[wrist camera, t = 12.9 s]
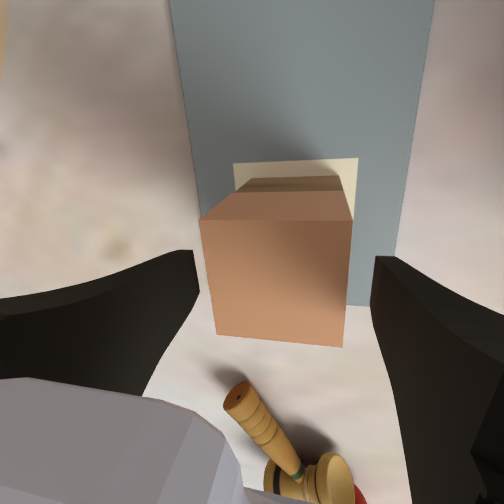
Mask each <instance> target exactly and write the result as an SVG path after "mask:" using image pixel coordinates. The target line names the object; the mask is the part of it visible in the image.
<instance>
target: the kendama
mask: <svg viewBox="0 0 504 504" xmlns="http://www.w3.org/2000/svg"><path fill="white" fill-rule="evenodd" d="M223 408H224V410H225V411H226V412H227V413H228V414H229V415H230V416H231V417H232V418H233V419H234V420H235V421H237V423H238V424H239V425H240V426H241V427H242V428H243V429H244V430H245V431H246V433H247V434H248V435H250V437H251V438H252V439H253V440H254V441H255V442H256V443H257V444H258V446H259V447H260V448H261V449H262V450H263V451H264V452H265V453H266V454H267V455H268V456H269V457H270V458H271V459H270V460H269V461H268V463H267V465H266V468H265V473H264V492H268V493H272V494H277V495H281V496H285V497H290V498H294V499H298V500H303V501H307V502H311V503H316V504H367V502H366V500H365V498H364V496H363V494H362V493H361V491H360V490H359V489H358V487H357V486H356V485H355V484H354V483H353V480H352V476H351V473H350V470H349V468H348V466H347V464H346V462H345V460H344V459H343V458H342V457H341V456H340V455H339V454H337V453H325V454H323V455H322V456H321V457H320V459H319V461H318V463H317V464H316V465H315V466H314V465H308V466H307V467H304V466H303V464H302V462H301V460H300V459H299V457H298V455H297V453H296V452H295V450H294V448H293V446H292V445H291V443H290V441H289V440H288V438H287V437H286V435H285V434H284V432H283V431H282V429H281V428H280V426H279V425H278V424H277V422H276V421H275V419H274V418H273V416H272V415H271V414H270V412H269V411H268V409H267V408H266V406H265V405H264V403H263V402H262V400H261V399H260V398H259V396H258V394H257V393H256V391H255V390H254V388H253V387H252V385H251V384H250V383H249V382H248V381H245V382H242V383H240V384H238V385H237V386H235V387H234V388H233V389H232V390H231V391H230V392H229V393H228V395H227V397H226V398H225V401H224V403H223Z"/></svg>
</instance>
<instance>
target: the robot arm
mask: <svg viewBox="0 0 504 504" xmlns="http://www.w3.org/2000/svg"><path fill="white" fill-rule="evenodd" d="M199 292H200V289H199V283H198V277H197V271H196V266H195V260H194V254H193V250H176V251H172V252H169V253H166V254H164V255H161V256H158V257H156V258H153V259H151V260H148V261H146V262H143V263H141V264H138V265H136V266H133V267H130V268H128V269H125V270H122V271H120V272H117V273H114V274H111V275H108V276H105V277H102V278H99V279H96V280H92V281H89V282H85V283H82V284H78V285H73V286H69V287H64V288H60V289H56V290H51V291H46V292H41V293H35V294H29V295H23V296H17V297H9V298H2V299H0V504H316V503H311V502H307V501H303V500H298V499H294V498H290V497H285V496H281V495H277V494H272V493H268V492H264V491H259V490H255V489H251V488H246V487H243V481H242V475H241V468H240V464H239V462H238V460H237V459H236V457H235V455H234V453H233V451H232V449H231V447H230V446H229V444H228V442H227V440H226V438H225V436H224V434H223V433H222V432H221V431H220V430H218V429H217V428H216V427H214V426H213V425H212V424H211V423H209V422H208V421H207V420H205V419H204V418H203V417H201V416H200V415H199V414H197V413H196V412H195V411H192V410H189V409H186V408H183V407H180V406H178V405H175V404H172V403H169V402H166V401H163V400H160V399H154V398H148V397H142V395H143V393H144V390H145V388H146V386H147V384H148V382H149V380H150V378H151V376H152V374H153V372H154V370H155V368H156V366H157V364H158V362H159V360H160V359H161V357H162V355H163V354H164V352H165V350H166V349H167V347H168V346H169V344H170V343H171V341H172V340H173V338H174V337H175V335H176V334H177V332H178V331H179V329H180V328H181V326H182V324H183V323H184V321H185V320H186V318H187V317H188V315H189V313H190V312H191V310H192V308H193V306H194V304H195V302H196V299H197V297H198V295H199ZM370 309H371V316H372V322H373V327H374V330H375V334H376V337H377V340H378V343H379V347H380V350H381V353H382V356H383V359H384V363H385V366H386V369H387V372H388V375H389V379H390V382H391V386H392V390H393V395H394V400H395V405H396V410H397V415H398V420H399V426H400V431H401V437H402V443H403V448H404V454H405V460H406V466H407V473H408V479H409V485H410V491H411V498H412V504H504V315H502V314H500V313H497V312H495V311H493V310H490V309H488V308H486V307H484V306H482V305H479V304H477V303H475V302H473V301H471V300H469V299H467V298H465V297H463V296H461V295H459V294H457V293H455V292H453V291H452V290H450V289H448V288H446V287H444V286H442V285H441V284H439V283H437V282H436V281H434V280H432V279H431V278H429V277H427V276H426V275H424V274H423V273H421V272H419V271H418V270H416V269H415V268H413V267H412V266H410V265H408V264H407V263H405V262H404V261H402V260H400V259H399V258H397V257H395V256H375V263H374V271H373V279H372V287H371V295H370Z"/></svg>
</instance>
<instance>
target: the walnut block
mask: <svg viewBox="0 0 504 504" xmlns="http://www.w3.org/2000/svg"><path fill="white" fill-rule="evenodd" d="M298 191H344V190H343V186H342V183H341V180H340V177H339V175H337V176H305V177H272V178H251V179H250V180H249V181H247V182H246V183H245V184H244V185H243V186H241V187H240V188H239V189H238V190H237V191H236V192H234V193H247V192H298Z"/></svg>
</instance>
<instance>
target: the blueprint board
mask: <svg viewBox="0 0 504 504" xmlns="http://www.w3.org/2000/svg"><path fill="white" fill-rule="evenodd" d="M169 4H170V11H171V17H172V24H173V31H174V37H175V44H176V50H177V57H178V64H179V70H180V77H181V83H182V90H183V96H184V103H185V110H186V116H187V123H188V129H189V136H190V142H191V149H192V156H193V162H194V169H195V175H196V182H197V189H198V195H199V202H200V208H201V215H202V217H203V216H204V215H206V214H207V213H208V212H209V211H210V210H212V209H213V208H214V207H215V206H216V205H218V204H219V203H220V202H221V201H223V200H224V199H225V198H226V197H227V196H229V195H230V194H231V193H234V192H236V191H237V190H238V189H239V188H240V187H241V186H243V185H244V184H245V183H246V182H247V181H249V180H250V179H251V178H272V177H305V176H337V175H339V177H340V180H341V183H342V186H343V190H344V193H345V196H346V199H347V203H348V206H349V209H350V212H351V215H352V219H353V228H352V240H351V252H350V263H349V275H348V287H347V298H346V305H355V306H369V307H370V295H371V287H372V279H373V271H374V263H375V256H394V254H395V248H396V242H397V235H398V229H399V222H400V216H401V210H402V203H403V197H404V191H405V184H406V178H407V172H408V165H409V159H410V153H411V146H412V140H413V134H414V127H415V121H416V115H417V108H418V102H419V96H420V89H421V83H422V76H423V70H424V64H425V57H426V51H427V45H428V38H429V32H430V26H431V19H432V13H433V7H434V0H169Z"/></svg>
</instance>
